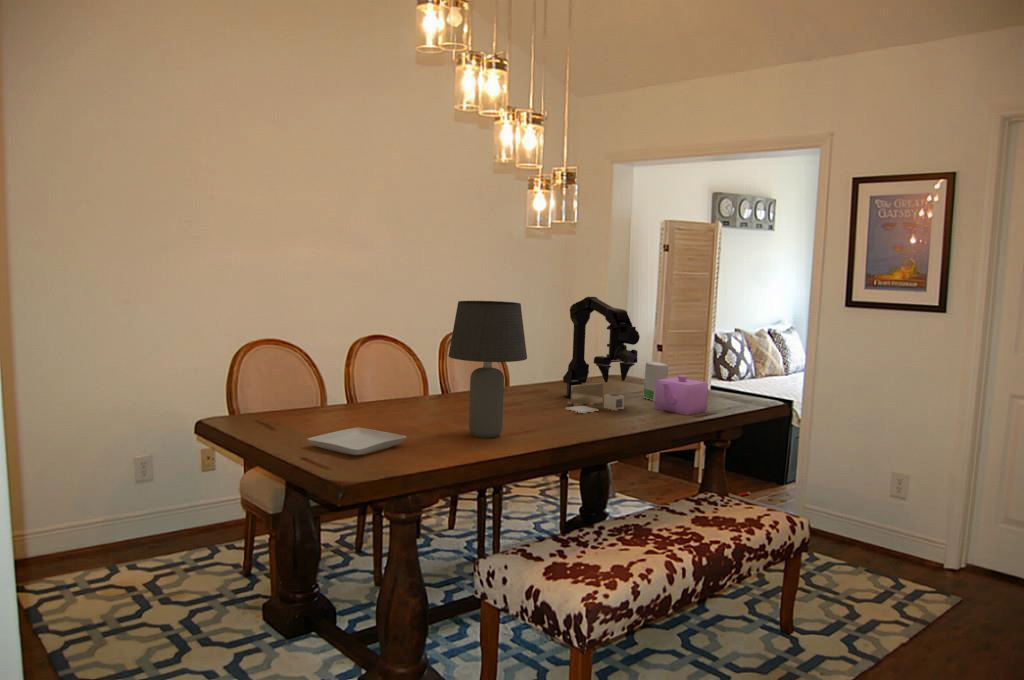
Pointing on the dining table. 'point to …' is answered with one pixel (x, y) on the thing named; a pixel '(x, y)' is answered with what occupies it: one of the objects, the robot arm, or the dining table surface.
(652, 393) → the skincare box
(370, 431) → the salad plate
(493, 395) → the lamp
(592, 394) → the oak screen
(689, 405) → the violet knobbed box
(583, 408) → the cream square tile
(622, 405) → the cream grey-paneled cube
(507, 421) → the dining table surface
